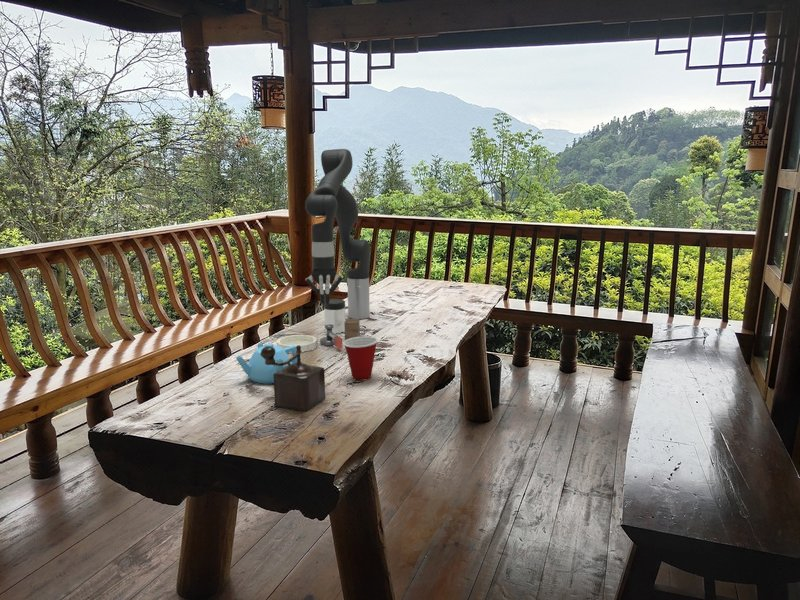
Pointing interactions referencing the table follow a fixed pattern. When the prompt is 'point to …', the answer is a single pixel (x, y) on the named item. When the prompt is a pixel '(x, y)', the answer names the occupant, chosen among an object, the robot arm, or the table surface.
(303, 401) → the coffee grinder
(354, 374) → the plastic cup
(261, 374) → the teapot
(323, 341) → the base
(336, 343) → the crank
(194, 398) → the table surface
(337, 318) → the jar
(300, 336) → the dish
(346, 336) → the block
